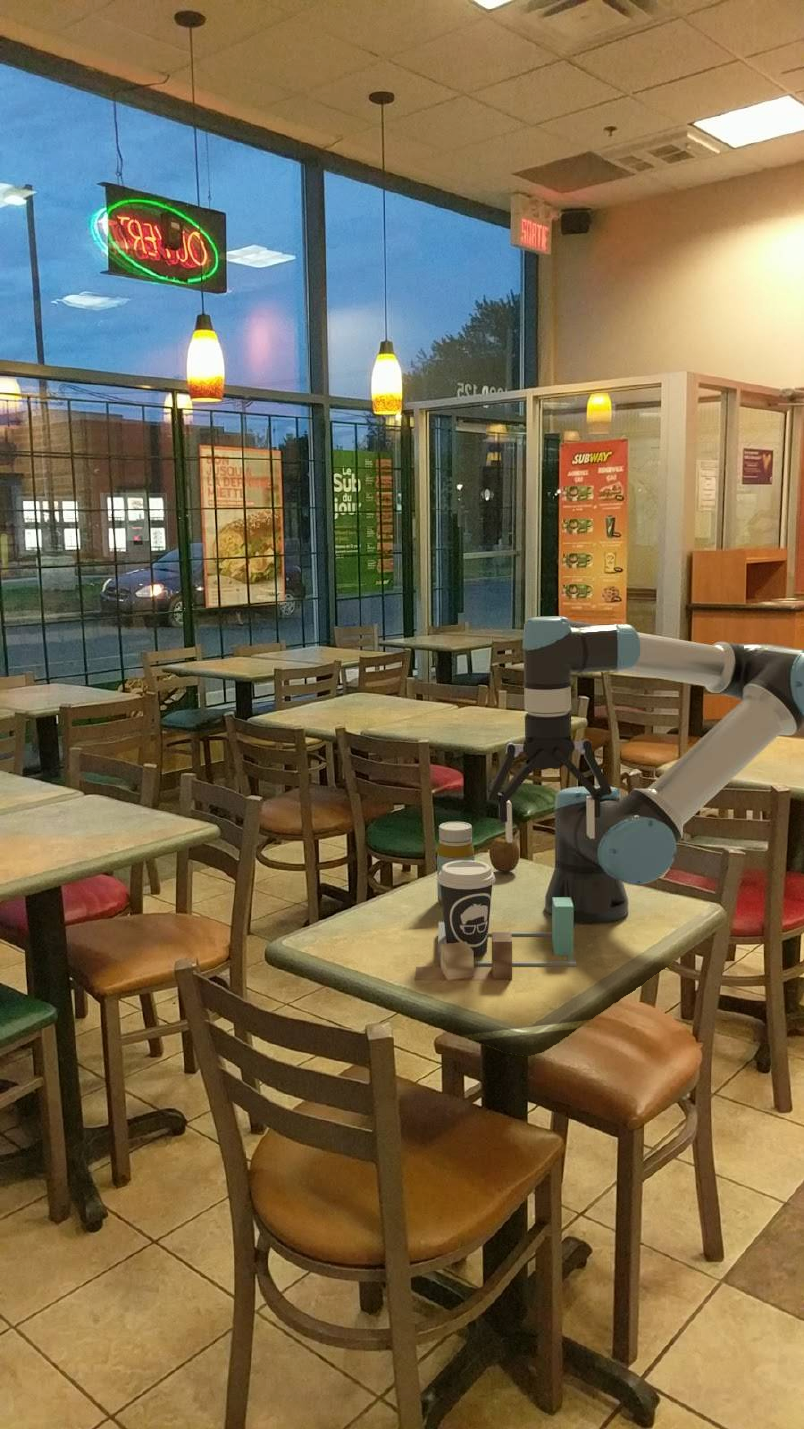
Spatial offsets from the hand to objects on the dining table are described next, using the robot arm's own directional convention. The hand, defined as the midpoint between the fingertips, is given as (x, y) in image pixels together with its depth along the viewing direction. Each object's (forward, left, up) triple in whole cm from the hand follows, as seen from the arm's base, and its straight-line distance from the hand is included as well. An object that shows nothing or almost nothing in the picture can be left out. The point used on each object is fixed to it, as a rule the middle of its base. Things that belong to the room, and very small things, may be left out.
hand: (549, 838), depth 175 cm
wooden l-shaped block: (+15, +13, -19) cm, 27 cm away
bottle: (+16, -21, -19) cm, 32 cm away
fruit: (+6, -39, -19) cm, 44 cm away
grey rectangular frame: (+8, +4, -19) cm, 21 cm away
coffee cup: (+14, +4, -19) cm, 24 cm away
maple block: (+16, +13, -18) cm, 27 cm away
